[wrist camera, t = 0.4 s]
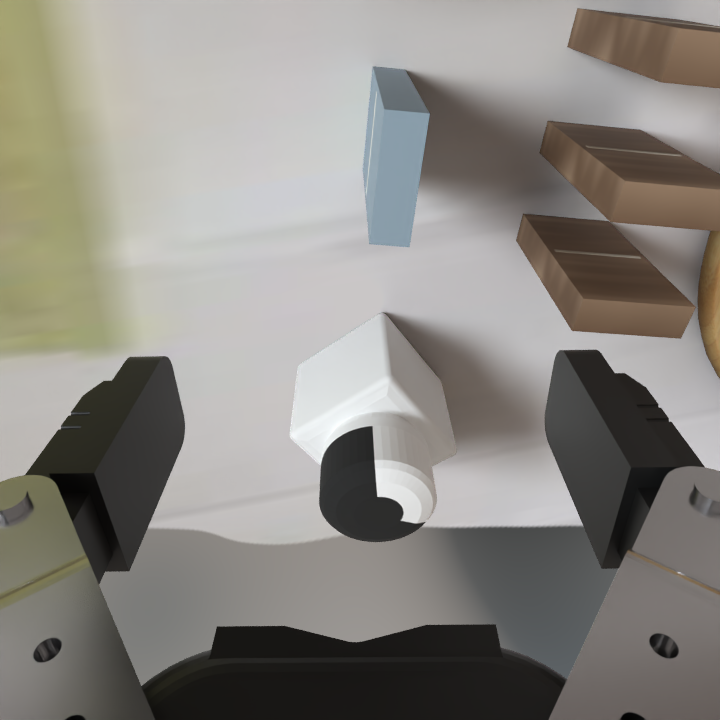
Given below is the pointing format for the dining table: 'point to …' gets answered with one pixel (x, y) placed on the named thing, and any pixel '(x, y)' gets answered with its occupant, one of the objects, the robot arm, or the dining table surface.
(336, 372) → the medicine bottle
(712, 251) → the wooden plate with food
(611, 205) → the tile
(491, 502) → the dining table surface
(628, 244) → the brown wooden block
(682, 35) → the tile
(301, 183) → the dining table surface
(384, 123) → the tile
